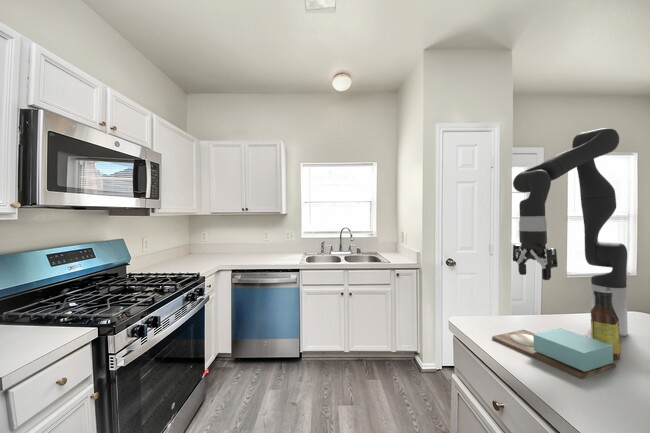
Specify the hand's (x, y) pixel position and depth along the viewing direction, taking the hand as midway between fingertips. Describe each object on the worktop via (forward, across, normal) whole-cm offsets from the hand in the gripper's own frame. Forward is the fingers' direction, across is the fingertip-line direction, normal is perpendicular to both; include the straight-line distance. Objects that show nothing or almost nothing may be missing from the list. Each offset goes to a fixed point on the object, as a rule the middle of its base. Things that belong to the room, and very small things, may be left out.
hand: (533, 277), depth 94 cm
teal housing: (+21, -12, 0) cm, 24 cm away
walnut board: (+23, -5, +1) cm, 23 cm away
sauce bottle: (+23, -11, -14) cm, 29 cm away
